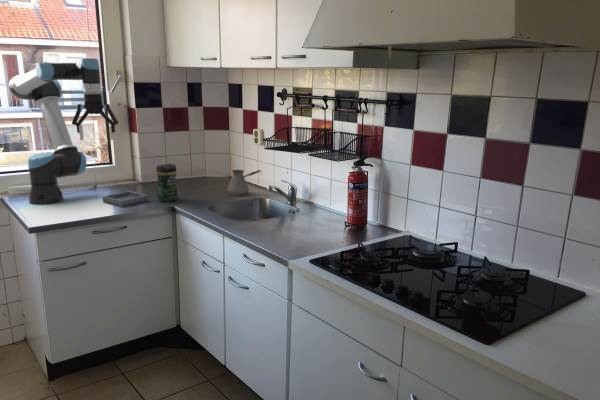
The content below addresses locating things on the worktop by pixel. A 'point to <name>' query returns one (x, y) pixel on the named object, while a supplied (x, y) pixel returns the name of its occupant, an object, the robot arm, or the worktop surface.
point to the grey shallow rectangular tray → (125, 198)
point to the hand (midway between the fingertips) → (97, 139)
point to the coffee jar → (166, 182)
